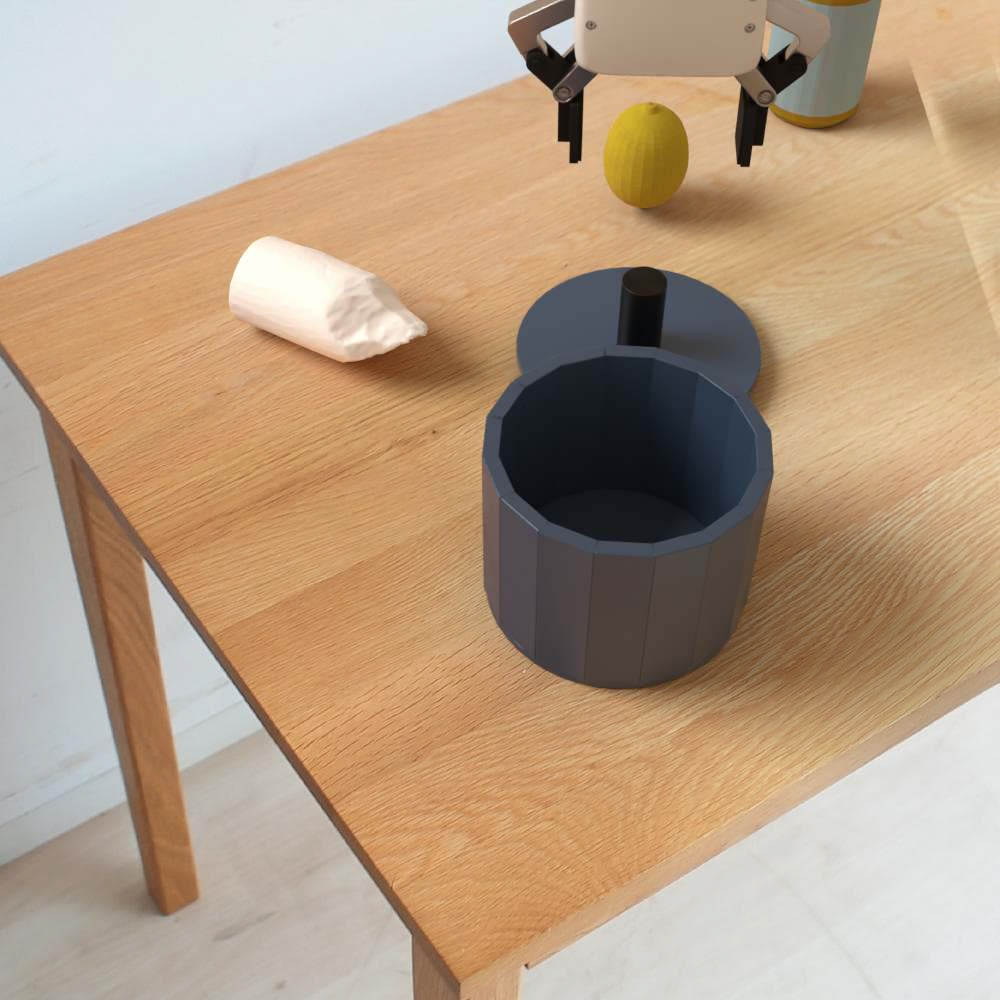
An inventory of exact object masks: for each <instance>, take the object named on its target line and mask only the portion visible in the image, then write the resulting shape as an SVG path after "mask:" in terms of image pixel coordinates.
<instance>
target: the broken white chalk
mask: <svg viewBox="0 0 1000 1000" xmlns="http://www.w3.org/2000/svg"><path fill="white" fill-rule="evenodd" d="M228 305H229V309H230V313H231V315H232V316H233V317H234V319H236V320H237V321H239V322H242V323H245V324H247V325H250V326H251V327H255V328H258V329H260V330H263V331H265V332H267V333H269V334H272V335H275V336H277V337H279V338H282V339H283V340H284V339H285V340H286V341H289V342H291V343H294V344H296V345H299V346H301V347H303V348H305V349H308V350H310V351H312V352H314V353H317V354H319V355H322V356H324V357H326V358H330V359H332V360H334V361H337V362H340V363H346V362H347V363H348V362H358V361H362V360H363V361H364V360H366V359H368V358H369V359H370V358H373V357H375V356H376V355H385V354H386V353H387V352H391V351H393V350H395V349H396V348H399V347H400V345H405V344H408V343H410V340H414V339H416V338H417V337H425V336H427V335H428V331H429V329H428V325H427V323H426V322H424V321H423V320H422V319H421V318H420V317H419V316H417V315H415V314H414V313H413V312H412V311H410V310H409V309H408V308H407V306H406V305H405V303H403V301H402V299H401V297H400V294H399V293H398V292H397V290H396V289H395V288H394V286H392V284H391V283H389V282H388V281H386V279H384V278H383V277H382V276H380V275H377V274H375V273H373V272H371V271H368V270H365V269H363V268H361V267H358V266H356V265H354V264H350V263H348V262H345V261H343V260H341V259H338V258H337V257H334V256H333V255H330V254H329V253H327V252H324V251H322V250H319V249H316V248H311V247H309V246H305V245H300V244H297V243H295V242H293V241H290V240H287V239H284V238H282V237H279V236H275V235H267V236H263V237H260V238H259V239H256V240H255V241H253V242H252V243H251V244H250V245H249V246H248V248H247V249H246V250H244V253H243V254H242V256H241V257H240V259H239V261H238V263H237V265H236V267H235V270H234V272H233V274H232V278H231V279H230V284H229V293H228Z"/></svg>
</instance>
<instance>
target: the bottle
mask: <svg viewBox="0 0 1000 1000" xmlns="http://www.w3.org/2000/svg"><path fill="white" fill-rule="evenodd" d="M797 1H799V2H801V3H803V4H804V5H806V6H808V7H810V8H812V9H814V10H816V11H818V12H820V13H822V14H824V15H825V16H827V17H828V19H829V22H830V28H831V37H830V39H829V40H828V41H827V43H826V44H825V45H824V47H823V48H822V49H821V51H820V52H819V53H818V55H817V56H816V57H815V59H814V60H812V61H811V62H810V63H809V65H808V67H807V71H806V73H805V74H804V75H803V76H802V77H800V78H799V79H798V80H796V81H795V82H794V83H792V84H791V85H790V86H788V87H787V88H786V89H784V90H783V91H782V92H780V93H779V94H778V95H777V99H776V101H775V103H774V104H772V105H771V106H769V107H768V109H769V110H770V111H771V113H772V114H773V115H774V116H776V117H777V118H778V119H779V120H781V121H783V122H785V123H788V124H790V125H793V126H796V127H800V128H801V127H802V128H807V129H822V128H828V127H833V126H835V125H838V124H840V123H842V122H844V121H845V120H847V119H848V118H850V117H851V116H853V114H855V112H856V111H858V109H859V105H860V102H861V98H862V94H863V90H864V86H865V80H866V76H867V72H868V66H869V61H870V58H871V53H872V49H873V48H872V47H873V43H874V39H875V33H876V29H877V24H878V20H879V17H880V16H879V15H880V11H881V6H882V2H883V0H797ZM794 37H795V35H794V34H792V33H790V32H788V31H786V30H784V29H782V28H780V27H778V26H776V25H774V24H772V23H771V29H770V35H769V42H768V49H767V54H766V58H767V59H768V60H769V59H770V58H771V57H773V56H774V55H775V54H777V53H778V52H779V51H780V50H782V49H783V48H784V47H786V46H787V45H789V44H790V43H792V41H793V38H794Z"/></svg>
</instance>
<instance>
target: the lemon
mask: <svg viewBox="0 0 1000 1000" xmlns="http://www.w3.org/2000/svg"><path fill="white" fill-rule="evenodd" d="M687 134H688V133H687V131H686V128H685V125H684V123H683V122H682V120H681V118H680V117H679V116H678V115H677V114H676V113H675V112H674V111H673V110H672V109H670V108H669V107H668V106H666V105H663V104H661V103H658V102H653V101H646V102H645V101H644V102H640V103H639V102H638V103H635V104H633V105H631V106H629V107H627V108H626V109H624V110H623V111H622V112H620V113H619V114H618V116H617V117H616V118H615V119H614V121H613V122H612V124H611V126H610V128H609V131H608V133H607V136H606V140H605V143H604V147H603V153H602V155H603V156H602V160H603V161H602V162H603V171H604V177H605V180H606V182H607V185H608V187H609V188H610V190H611V192H612V194H614V195H615V196H616V197H617V198H618V200H620V201H621V202H623V203H625V204H626V205H628V206H631V207H634V208H638V209H641V210H644V209H648V208H655V207H658V206H661V205H663V204H665V203H666V202H668V201H669V200H670V199H672V197H673V196H675V194H677V192H679V190H680V188H681V186H682V184H683V182H684V180H685V178H686V175H687V172H688V167H689V158H690V157H689V155H690V154H689V153H690V148H689V147H690V146H689V139H688V135H687Z"/></svg>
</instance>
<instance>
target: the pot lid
mask: <svg viewBox="0 0 1000 1000" xmlns="http://www.w3.org/2000/svg"><path fill="white" fill-rule="evenodd" d="M516 335H517V336H516V341H515V342H516V343H515V344H516V346H515V347H516V348H515V349H516V351H515V353H516V354H515V356H516V362H517V367H518V370H519V373H520V376H521V375H523V374H524V373H526V372H528V371H529V370H531V369H533V368H534V367H536V366H538V365H539V364H541V363H543V362H544V361H546V360H548V359H549V358H551V357H554V356H556V355H561V354H565V353H570V352H574V351H578V350H583V349H587V348H592V347H596V346H601V345H621V346H640V347H657V348H659V349H662V350H665V351H668V352H671V353H674V354H677V355H680V356H683V357H686V358H689V359H692V360H695V361H698V362H701V363H704V364H706V365H709V366H710V367H712V368H713V369H714V370H716V371H717V372H719V373H720V374H721V375H723V376H724V377H726V378H727V379H728V380H730V381H731V382H732V383H734V384H735V385H737V386H738V387H739V388H741V389H742V390H743V391H745V392H746V393H747V394H748V395H749V396H750V395H751V394H752V392H753V391H754V389H755V386H756V384H757V383H758V379H759V375H760V371H761V366H762V348H761V342H760V338H759V336H758V333H757V331H756V328H755V327H754V325H753V323H752V321H751V319H750V318H749V317H748V316H747V314H746V313H745V312H744V310H743V309H742V308H741V307H740V306H738V304H736V302H735V301H734V300H733V299H731V298H730V297H728V295H726V294H724V293H723V292H721V291H720V290H718V289H717V288H715V287H713V286H712V285H709V284H707V283H706V282H703V281H701V280H699V279H696V278H694V277H690V276H689V275H685V274H682V273H680V272H679V273H678V272H675V271H671V270H665V269H659V268H656V267H651V266H646V265H645V266H644V265H643V266H621V267H609V268H603V269H597V270H593V271H589V272H584V273H581V274H579V275H576V276H573V277H571V278H569V279H566V280H564V281H561V282H560V283H558V284H557V285H555V286H553V287H551V288H550V289H548V290H547V291H546V292H544V293H543V294H542V295H541V296H540V297H538V298H537V299H536V300H535V301H534V302H533V304H532V305H531V306H530V307H529V309H528V310H527V312H525V314H524V316H523V318H522V320H521V323H520V325H519V328H518V330H517V334H516Z"/></svg>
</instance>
